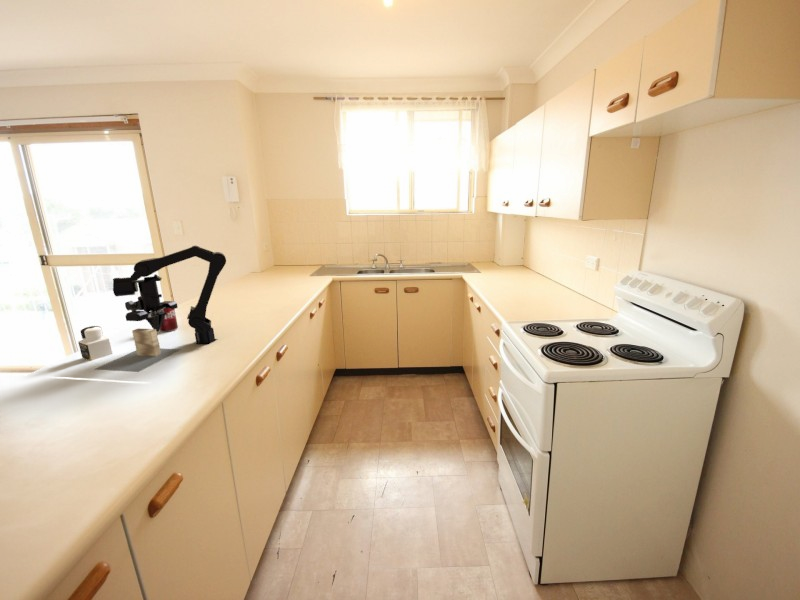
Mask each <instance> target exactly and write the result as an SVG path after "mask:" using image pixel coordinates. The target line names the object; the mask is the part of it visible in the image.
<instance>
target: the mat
mask: <svg viewBox="0 0 800 600" xmlns="http://www.w3.org/2000/svg"><path fill="white" fill-rule="evenodd" d="M160 350H161V354H159V355H157V356H142V355H137V350H136V349H135V350H134V351H132V352H130V353H127V354H125V355H123V356H120V357H117V358H116V359H114V360H111V361H109V362H107V363H105V364H102V365H101V366H98V367H96V368H94V370H97V371H98V370H99V371H114V372H115V371H118V372H119V371H120V372H121V371H122V372H133V373H134V372H135V373H136V372H137V373H139V372H141V371H143V370H145V369H147V368H149V367H151V366H153V365H154V364H156V363H158V362H160V361H162V360H164V359H166V358H168V357H170V356H173V355H174V354H176V353H178V352H179V351H182V349H181V348H162V347H160Z"/></svg>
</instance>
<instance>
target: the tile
mask: <svg viewBox="0 0 800 600" xmlns="http://www.w3.org/2000/svg"><path fill="white" fill-rule="evenodd" d="M131 333H132V336H133V340H134V341H133V342H134V346H135V351H136V350H137V355H142V356H157V355H159V354H161V350H160V348H161V347H160V342H159V338H158V337H159V336H158V332H157V331H156V329H153V328H135V329H133V330H132V332H131Z"/></svg>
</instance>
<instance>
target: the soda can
mask: <svg viewBox="0 0 800 600" xmlns="http://www.w3.org/2000/svg"><path fill="white" fill-rule="evenodd" d="M163 310H164V312H167V314H166V315H165V317H164V319H163V322H162V324H161V327H160V330H159V331H160V332H162V333H169V332H173V330H174V331H175V330H177V329H178V328H179V325H178V320H177V315H176V310H175V309H170V308H166V309H163ZM168 331H169V332H168Z"/></svg>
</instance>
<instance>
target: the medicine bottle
mask: <svg viewBox="0 0 800 600" xmlns="http://www.w3.org/2000/svg"><path fill="white" fill-rule="evenodd" d="M80 334H81V339H82V340H78V346H79V347H78V348H79V351H80V354H81V358H82V359H83V358H84V359H83V360H86V359H87V360H88V361H94V360H97V359H100V358H101V359H102V358H104V357H107V356H110V355H113V350H112V345H111V342H110V338H109V337H107V336H104V334H103V330H102V327H101V326H100V325H92V326H87V327H83V328H82V329H80ZM87 360H86V361H87Z"/></svg>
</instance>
